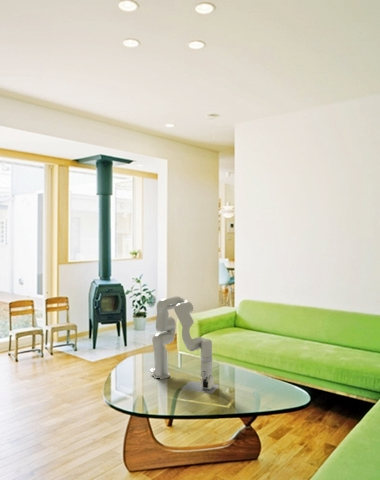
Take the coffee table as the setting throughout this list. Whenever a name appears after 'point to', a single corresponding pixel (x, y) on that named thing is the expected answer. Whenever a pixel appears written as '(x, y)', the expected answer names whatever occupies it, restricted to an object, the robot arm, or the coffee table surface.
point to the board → (199, 387)
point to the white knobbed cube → (210, 382)
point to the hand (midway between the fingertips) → (207, 385)
